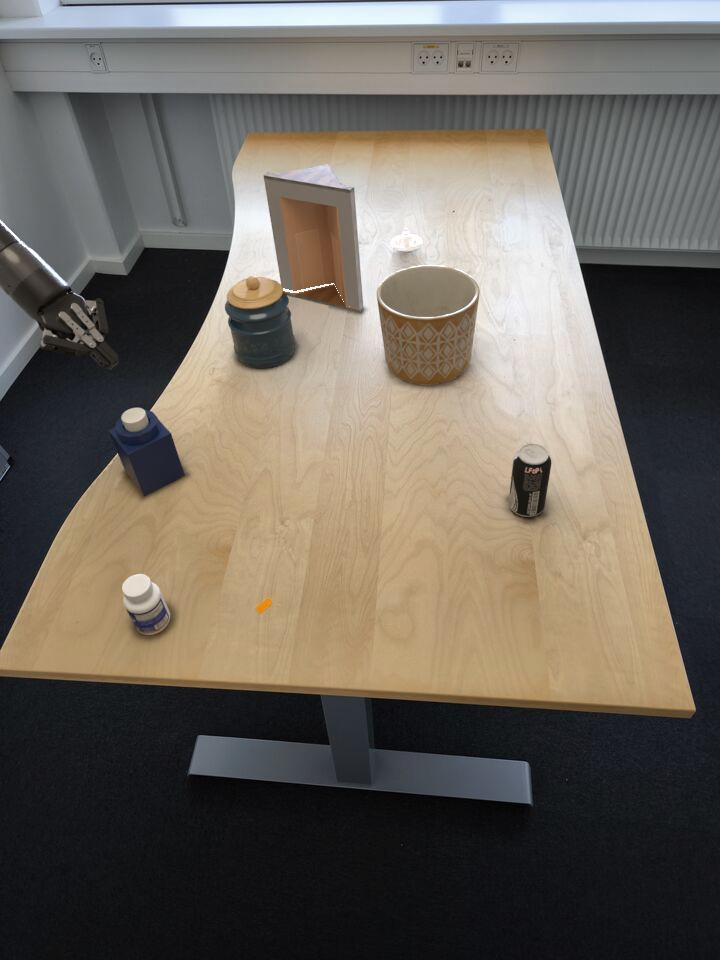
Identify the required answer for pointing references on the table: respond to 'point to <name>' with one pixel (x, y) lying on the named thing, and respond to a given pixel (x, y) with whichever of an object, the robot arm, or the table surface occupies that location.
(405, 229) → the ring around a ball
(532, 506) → the beverage can
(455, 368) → the planter
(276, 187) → the cabinet
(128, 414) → the white bottle cap
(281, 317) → the canister
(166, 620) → the pill bottle
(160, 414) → the table surface
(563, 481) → the table surface
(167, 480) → the blue push button box
